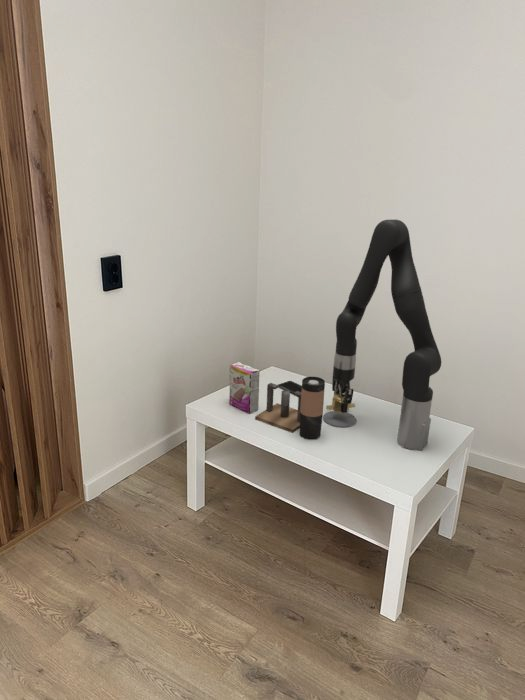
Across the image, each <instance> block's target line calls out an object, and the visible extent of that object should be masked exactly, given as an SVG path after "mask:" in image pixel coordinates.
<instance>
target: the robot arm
mask: <svg viewBox="0 0 525 700" xmlns="http://www.w3.org/2000/svg"><path fill="white" fill-rule="evenodd" d="M409 232H410V231H409V228H408V227H407V225H406V224H405V222H403V221H402V220H400V219H384V220H382V221H380V222H379V223H378V224H377V225H376V226H375V228H374V230H373V233H372V236H371V239H370V243H369V245H368V249H367V253H366V256H365V258H364V261H363V264H362V267H361V269H360V271H359V273H358V276H357V278H356V280H355V282H354V284H353V286H352V288H351V290H350V293H349V295H348V301H347V302H346V304H345V307H344V308H343V310H342V312H341V313H339V315H338V316H337V319H336V322H335V323H336V324H335V332H336V336H335V337H336V345H335V354H334V358H333V366H332V367H333V370H332V385H331V386H332V387H331V389H332V392H333V395H334V394H335V393H340V397H341V401H342V403H341V412H342V413H346V412H347V408H348V404H351V403H353V395H354V392H355V391H354V388H351V381H352V380H354V379H355V374H356V373H355V372H356V364H357V345H358V341H357V340H358V339H357V338H356V334H357V327H358V326H359V325H360V323H361V321H362V319H363V316H364V314H365V312H366V309H367V307H368V305H369V303H370V301H371V300H372V298H373V296H374V293H375V291H376V290H377V286H378V284H379V280H380V275H381V271H382V268H383V266H384V263H385V261H386V260H387V258H388V259H389V261H390V266H391V268H390V269H391V277H390V278H391V280H390V282H391V283H390V292H391V293H390V294H391V299H392V301H393V305H394V311H395V312H396V315H397V316H398V318H399V320H400V322H402V324H403V325H404V327H405V328H406V329H407V330H408V332H409V334H410V336H411V340H412V343H413V350H414V351H412V352H410V353H409V354H407V355H406V357H405V359H404V362H403V366H402V367H403V369H402V379H401V385H402V390H403V392H402V393H403V394H402V398H401V399H402V400H401V401H402V402H401V407H400V408H401V409H400V416H399V421H398V422H399V423H398V429H397V430H398V431H397V437H396V442H397V444H398V445H400V446H401V447H403V448H405V449H408V450H418V451H422V450H423V449H424V448H425V447H426V445H428V441H429V435H430V428H431V422H432V418H431V417H430V416H431V408H432V403H433V398H434V397H433V396H434V390H433V389H432V388H431V386H430V378H431V377H432V376H434V375H435V374H436V373H438V372H439V371H440V369H441V366H442V357H441V354H440V351H439V348H438V345H437V342H436V340H435V337H434V335H433V331H432V328H431V324H430V320H429V316H428V313H427V308H426V304H425V298H424V296H423V291H422V287H421V285H420V280H419V277H418V273H417V270H416V269H417V268H416V266H415V263H414V258H413V253H412V251H413V250H412V247H411V246H412V244H411V237H410V233H409ZM342 393H345V394H342Z"/></svg>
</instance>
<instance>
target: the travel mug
mask: <svg viewBox="0 0 525 700" xmlns="http://www.w3.org/2000/svg"><path fill="white" fill-rule="evenodd" d="M325 385H326V381H325V379H323V378H321V377H319V376H306V377H304V378H302V380H301V386H302V392H301V406H300V428H299V436H300V438H303V439H304V440H317V439H319V438H320V437H321V433H322V424H323V415H324V401H325V387H326V386H325Z"/></svg>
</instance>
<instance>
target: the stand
mask: <svg viewBox="0 0 525 700" xmlns="http://www.w3.org/2000/svg"><path fill="white" fill-rule="evenodd" d="M266 389H267V391H266V409H265V410H263V411H262V412H260V413H258V414H256V415H255V417H254V419H255V420H256V421H259V422H261V423H263V424H264V423H265V424H267V425H270V426H271V427H275V428H279V429H281V430H284V431H286V432H289V433H295V432H296V431H298V430H300V406H301V392H299V391H296V392H295V393H294V395H293V396H294V397H297V398H298V401H297V409H295V408H293V407H290V403H291V401H290V400H291V393H290V391H287V390H281V395H280V396H281V397H280V399H281V400H280V403H274V390H276V389H279V388H278V384H276V383H273V382H269V383H267V386H266Z"/></svg>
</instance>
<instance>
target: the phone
mask: <svg viewBox="0 0 525 700" xmlns="http://www.w3.org/2000/svg"><path fill="white" fill-rule="evenodd" d="M277 385H278V388H277V389H280V390H281V391H283V390H287V391H290V395H293V396H294V393H295V392H296V391H299V392H302V384H299V383H297V382H294V381H292V380H288V381H285V382H281V383H278V384H277Z"/></svg>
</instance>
